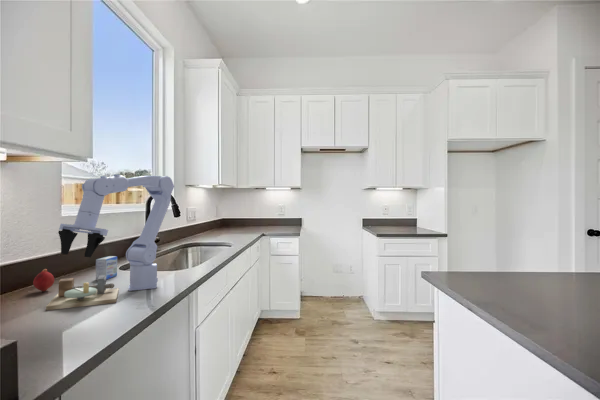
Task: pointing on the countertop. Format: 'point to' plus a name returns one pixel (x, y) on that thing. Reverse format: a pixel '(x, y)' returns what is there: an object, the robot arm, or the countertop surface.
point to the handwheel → (80, 292)
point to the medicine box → (106, 267)
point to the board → (84, 300)
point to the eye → (101, 284)
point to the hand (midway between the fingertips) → (75, 255)
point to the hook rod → (69, 285)
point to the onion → (43, 280)
